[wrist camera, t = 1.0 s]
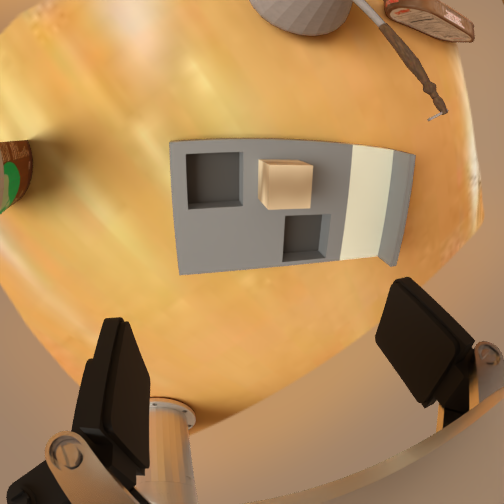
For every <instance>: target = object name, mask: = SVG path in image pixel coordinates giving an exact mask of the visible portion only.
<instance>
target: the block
mask: <svg viewBox="0 0 504 504" xmlns="http://www.w3.org/2000/svg"><path fill="white" fill-rule="evenodd" d="M312 176H313V165H310V164H308V163H305V162H302V161H299V160H289V159H259V163H258V199H259V200H260V201H261V202H262V204H263V205H264V206H265V207H266V208H267V209H268V210H277V209H306V208H310V204H311V191H312Z"/></svg>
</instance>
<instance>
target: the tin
mask: <svg viewBox="0 0 504 504" xmlns="http://www.w3.org/2000/svg"><path fill="white" fill-rule="evenodd" d="M383 1H384V7H385V13H386V15H387V16H388V17H389V18H390V19H392V20H394V21H396V22H399V23H401V24H404V25H406V26H408V27H411V28H413V29H415V30H418V31H420V32H422V33H424V34H427V35H429V36H431V37H434V38H436V39H440V40H443V41H448V42H469V43H470V42H473V41H474V39H475V37H474V25H473V23H472V22H471V21H470V20H469V19H468V18H466V17H465V16H463V15H462V14H460V13H459V12H457V11H456V10H454V9H453V8H451V7H449V6H448V5H446V4H444V3H443V2H441V1H440V0H383Z"/></svg>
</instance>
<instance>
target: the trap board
mask: <svg viewBox="0 0 504 504" xmlns="http://www.w3.org/2000/svg"><path fill="white" fill-rule="evenodd" d="M169 147H170V171H171V189H172V204H173V216H174V228H175V239H176V249H177V258H178V267H179V275H189V274H201V273H212V272H224V271H235V270H246V269H257V268H268V267H278V266H289V265H299V264H309V263H319V262H328V261H338V260H347V259H357V258H366V257H375V256H378V257H379V258H380V259H382V260H383V261H384V262H385V263H387V264H388V265H389V266H390V267H391V266H396V264H397V260H398V256H399V252H400V248H401V243H402V239H403V234H404V229H405V224H406V219H407V213H408V208H409V202H410V195H411V189H412V182H413V174H414V166H415V157H416V155H414V154H410V153H406V152H402V151H397V150H393V149H389V148H383V147H375V146H368V145H359V144H350V143H341V142H329V141H316V140H300V139H276V138H219V139H195V140H179V141H170V142H169ZM259 159H289V160H299V161H302V162H305V163H308V164H310V165H313V176H312V191H311V204H310V208H306V209H277V210H268V209H267V208H266V207H265V206H264V205H263V204H262V202H261V201H260V200H259V199H258V163H259Z"/></svg>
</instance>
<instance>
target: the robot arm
mask: <svg viewBox="0 0 504 504" xmlns="http://www.w3.org/2000/svg"><path fill="white" fill-rule="evenodd" d="M375 340H376V343H377V345H378V346H379V348H380V349H381V350H382V352H383V353H384V355H385V356H386V357H387V359H388V360H389V362H390V363H391V364H392V366H393V367H394V369H395V370H396V371H397V373H398V374H399V376H400V377H401V379H402V380H403V381H404V383H405V384H406V386H407V387H408V389H409V390H410V392H411V393H412V395H413V396H414V397H415V399H416V400H417V402H419V403H422V405H423V407H424V408H426V407H428V406H430V405H432V404H434V403H435V401H436V400H437V401H438V402H439V408H438V419H437V428H436V433H435V434H433V435H432V436H430V437H429V438H427V439H425V440H423V441H422V442H420V443H418V444H416V445H414V446H413V447H411V448H409V449H407V450H405V451H403V452H401V453H399V454H397V455H395V456H393V457H391V458H389V459H387V460H385V461H383V462H381V463H378V464H376V465H374V466H372V467H369V468H367V469H365V470H362V471H360V472H357V473H355V474H352V475H350V476H347V477H344V478H342V479H339V480H336V481H333V482H330V483H327V484H324V485H321V486H318V487H314V488H311V489H308V490H304V491H301V492H297V493H293V494H289V495H285V496H281V497H276V498H271V499H266V500H261V501H256V502H250V503H244V504H504V359H503V355H502V353H501V351H500V350H499V348H498V347H496V346H495V345H494V344H492V343H489V342H486V341H482V342H479V343H478V344H476V346H475V348H474V349H472V345H473V343H474V342H475V340H474V339H473V338H472V337H471V336H470V335H469V334H468V333H467V332H466V331H465V329H464V328H462V326H461V325H459V323H457V321H456V320H455V319H454V318H453V317H452V316H450V314H449V313H447V312H446V311H445V310H444V309H443V308H442V307H441V306H440V305H439V304H438V303H437V302H436V301H435V300H434V299H433V298H432V297H431V296H429V294H427V293H426V292H425V291H424V290H423V289H422V288H421V287H420V286H419V285H418V284H417V283H416V282H414V281H413V280H412V279H411V278H409V277H405V278H400V279H396V280H395V281H394V282H393V284H392V285H391V287H390V290H389V294H388V297H387V301H386V304H385V307H384V311H383V314H382V317H381V320H380V323H379V326H378V329H377V332H376V335H375ZM195 422H196V418H195V413H194V411H193V410H192V409H191V408H190V407H189V406H187V405H185V404H184V403H181V402H179V401H176V400H172V399H167V398H150V377H149V373H148V371H147V368H146V366H145V364H144V361H143V359H142V356H141V354H140V351H139V348H138V346H137V343H136V340H135V338H134V335H133V332H132V329H131V326H130V324H129V322H124V320H123V319H122V318H121V317H119V318H106V319H104V322H103V325H102V328H101V332H100V335H99V339H98V342H97V346H96V350H95V353H94V357H93V359H89V360H88V361H87V363H86V366H85V370H84V373H83V377H82V382H81V386H80V390H79V395H78V399H77V404H76V409H75V414H74V419H73V425H72V430H71V431H61V432H58V433H56V434H55V435H53V436H52V437H51V438H50V439H49V440H48V442H47V444H46V447H45V459H46V460H45V461H44V462H42V463H41V464H39V465H38V466H36V467H35V468H34V469H32V470H31V471H29V472H28V473H27V474H25V475H24V476H22V477H21V478H20V479H18V480H17V481H15V482H14V483H13V484H12V485H11V486H10V487H9V489H8V491H7V497H6V498H7V504H198V499H197V493H196V487H195V481H194V474H193V466H192V459H191V451H190V442H189V432H188V430H189V429H191V428H192V427H193V426H194V424H195ZM135 485H136V487H135Z"/></svg>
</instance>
